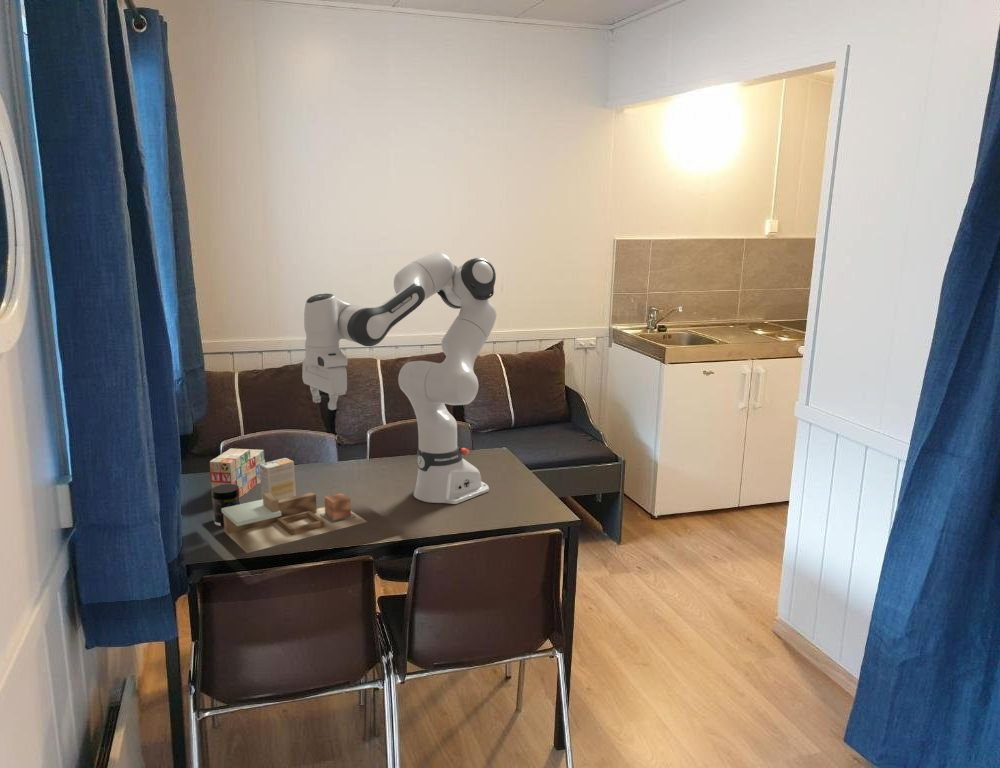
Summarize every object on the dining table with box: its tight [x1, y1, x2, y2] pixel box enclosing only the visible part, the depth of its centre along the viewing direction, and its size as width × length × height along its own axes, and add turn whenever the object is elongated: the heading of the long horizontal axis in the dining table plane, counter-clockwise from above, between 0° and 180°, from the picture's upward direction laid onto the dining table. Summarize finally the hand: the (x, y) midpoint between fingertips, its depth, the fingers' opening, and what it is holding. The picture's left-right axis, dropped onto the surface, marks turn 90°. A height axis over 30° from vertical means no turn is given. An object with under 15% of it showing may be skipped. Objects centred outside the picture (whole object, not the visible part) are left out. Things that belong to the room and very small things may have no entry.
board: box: [223, 491, 368, 554], centre depth 200 cm, size 32×16×7 cm, turn 128°
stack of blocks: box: [209, 447, 266, 499], centre depth 229 cm, size 21×6×12 cm, turn 171°
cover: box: [221, 493, 281, 526], centre depth 193 cm, size 11×11×4 cm
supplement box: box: [259, 457, 297, 500], centre depth 215 cm, size 8×5×13 cm, turn 134°
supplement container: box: [211, 484, 241, 527], centre depth 202 cm, size 7×7×10 cm
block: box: [324, 492, 352, 520], centre depth 207 cm, size 5×5×5 cm
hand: (324, 405), depth 211 cm, fingers open, 8 cm apart
